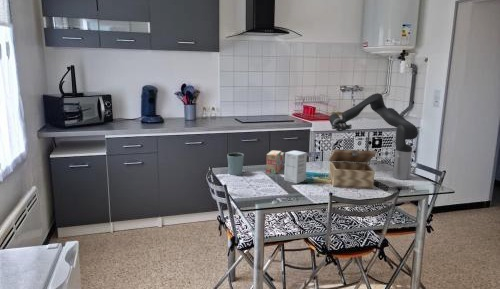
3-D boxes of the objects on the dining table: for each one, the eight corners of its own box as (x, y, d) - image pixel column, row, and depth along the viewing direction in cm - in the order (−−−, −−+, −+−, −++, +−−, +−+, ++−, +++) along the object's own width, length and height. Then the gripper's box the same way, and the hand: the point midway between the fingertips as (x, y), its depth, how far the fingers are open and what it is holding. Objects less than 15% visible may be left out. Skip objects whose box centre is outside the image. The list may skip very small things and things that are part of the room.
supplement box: (306, 180, 223) (307, 152, 219) (296, 183, 216) (298, 155, 213) (292, 176, 229) (294, 149, 226) (283, 180, 223) (284, 152, 219)
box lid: (367, 165, 227) (367, 160, 228) (376, 156, 208) (376, 150, 209) (329, 163, 228) (329, 158, 229) (334, 154, 210) (334, 148, 210)
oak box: (365, 179, 229) (366, 163, 227) (372, 188, 211) (374, 171, 209) (328, 177, 230) (329, 161, 228) (333, 186, 213) (334, 169, 211)
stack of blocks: (275, 164, 255) (275, 147, 253) (284, 166, 253) (284, 148, 251) (265, 173, 236) (266, 154, 233) (275, 174, 234) (276, 155, 231)
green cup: (244, 171, 237) (244, 153, 234) (242, 176, 227) (242, 157, 225) (228, 170, 238) (228, 152, 235) (225, 175, 228) (225, 156, 226)
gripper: (349, 130, 249) (354, 134, 232) (329, 130, 250) (333, 134, 233) (349, 119, 248) (355, 122, 231) (329, 119, 249) (333, 122, 232)
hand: (344, 128), depth 232 cm, fingers closed
